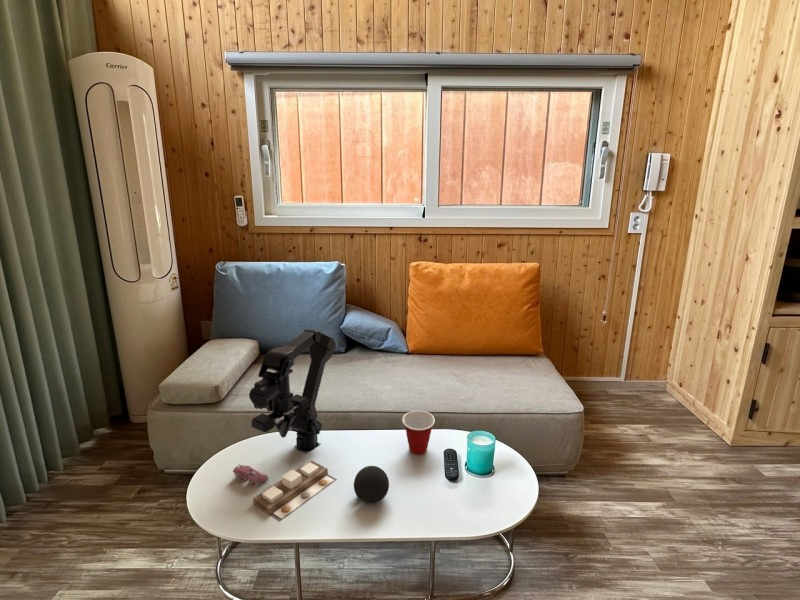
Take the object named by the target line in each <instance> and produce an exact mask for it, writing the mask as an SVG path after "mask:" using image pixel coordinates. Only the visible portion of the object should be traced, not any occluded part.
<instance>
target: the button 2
mask: <svg viewBox="0 0 800 600" xmlns="http://www.w3.org/2000/svg"><path fill="white" fill-rule="evenodd" d="M307 463H308V462H307ZM307 463H306V464H307ZM304 465H305V464H304ZM304 465H303V466H304ZM301 467H302V466H301ZM301 467H299V468H300V473H302V474H304V475H306V476H307V477H309V478H310V477H311V476H313V475H314V474H315V473H317V472H318V471H319V467H318V466H316V465H314V464H312V463H308V464H307V465H305V466H304V467H302V468H301Z"/></svg>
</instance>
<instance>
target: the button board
mask: <svg viewBox="0 0 800 600" xmlns="http://www.w3.org/2000/svg"><path fill="white" fill-rule="evenodd" d="M308 463H312V464H314V465H316V466H318V467H319V471H318V472H317V473H315V474H314V475H313V476H311V477H310V478H309V477H307V476H306V475H304V474H302V473H300V468H302V467H304V466H305V465H307V464H308ZM328 470H329V469H328V467H325V466H323V465H321V464H320V463H317V462H316V461H314V460H313V459H311V460H310V461H309V462H306V463H305V464H304V465H302V466H300V467H299V468H297V469H296V470H295V471H296V472H298V473H300V474H301V475H302V483H301V484H299V485H298V486H296V487H295V488H294V489H292V490H290V489H289V488H287V487H285V486H284V485H282V479H281V480H279V481H277V482H276V483H274V484H273V485H271V486H270V487H268V488H267V489H265V490H264V491H262V492H261V493H259V494H258V495H256V496H255V497H252V500H253V501H252V502H253V504H252V505H253V506H255V507H256V508H258V509H260V510H261V511H262V512H264V513H266V514H267V515H268V516H270V517H272V518H273V519H274V520H276V521H278V522H279V523H280V522H282V521H283V520H284V519H285V518H287V517H288V516H290V515H291V514H292V513H294V512H295V511H297V510H298V509H299V508H300V507H302V506H303V505H305V504H306V503H307V502H308V501H310V500H311V499H313V498H314V497H315V496H317V495H318V494H319V493H321V492H322V491H324V490H325V489H326V488H327V487H330V485H331V484H334V482H336V481H337V480H338V479H337V478H335V477H334V476H332V475H330V474H329V471H328ZM273 486H275V487H276V488H278V489H280V490H281V491H283V496H282V497H280V498H279V499H278V500H276V501H275V502H273V503H272V504H271V503H270V502H268V501H267V500H265V499H263V498H262V493H263V492H265V491H267V490H268V489H270V488H271V487H273Z"/></svg>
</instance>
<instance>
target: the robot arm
mask: <svg viewBox="0 0 800 600" xmlns="http://www.w3.org/2000/svg"><path fill="white" fill-rule="evenodd" d="M336 346H337V343H336V341H335V339H334V338H333V337H331V336H328V335H326V334H324V333H322V332H321V331H320V330H316V329H311V328H310V329H309V328H307V329H304V330H303V332H302V333H301V334H299V335H298V336H297V337H295V338H294V339H292V340H291V341H289V342H288V343H287V344H285V345H283V346H278V347H275V348H273V349H270V350H268V351H267V352H265V353H266V354H265V355H264V357H263V360H262V363H261V365H260V368H259V372H258V376H257V377H259V378H262V379H260V380H259V381H256V382H255V383H254V384H253V387H252V388H251V389H250V391H249V393H248V398H249V399H250V401H251V403H252V404H253V408H255V409H256V410H257V409H259V410H263V409H266V411H268V412H271V413H269V414H268V415H267V414H265V413H261V414H259V415H257V416H254V418H252V419H251V422H250V423H251V427H252V428H253V429H255V430H257V431H260V432H261V433H262V432H263V433H267V432H269V431H271V430H273V429H274V428H275V427H276V430H277V431H278V433H279V435H280V437H281V438H283V439H284V438H286V437H287V434H288V432H289V430H290V429H291V432H295V433H296V438H295V440H296V444H295V445H294V448H296V449H297V450H299V451H300V452H303V453H306V454H307V453H308V454H309V453H310V452H312V451H314V450H315V449H316V448H318V447H319V446H321V443H320V442H318V435H320V434H321V431H322V426H323V424H322V423H321V422H320V421H319V420H318V412H317V411H318V410H317V407H316V402H317V399H318V398H317V397H318V394H319V389H320V387H321V383H322V378H323V374H324V370H325V368H326V363H327V362H328V361H329V360H331V358H332V357H333V355H334V351H335V349H336V348H337V347H336ZM306 350H308V353H309V357H310V363H309V368H308V370H307V375H306V379H305V383H304V385H303V386H304V387H303V391H302V394H301V395H299V394H298V393H297V394H294V393H293V392H291V386H290V374H291V373H293V371H294V370H293V368H292V367H293V366H294V365H295V360H296V359H297V358H298V357H299V356H301V354H303V353H304V352H305V351H306ZM267 370H270V371H267ZM273 371H274V372H273Z"/></svg>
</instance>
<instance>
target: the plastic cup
mask: <svg viewBox="0 0 800 600" xmlns="http://www.w3.org/2000/svg"><path fill="white" fill-rule="evenodd" d="M435 422H436V420H435V417H434V416H433V414H431V413H430V412H428V411H424V410H412V411H408V412H407V413H404V415H403V416H402V424H403V425H404V428H405V434H406V439H407V443H408V449H409V451H410V453H411V454H413V455H417V456H419V455H420V456H421V455H423V454H425V453H426V452H427V450H428V446H429V443H430V438H431V433H432V429H433V426H434V424H435Z"/></svg>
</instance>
